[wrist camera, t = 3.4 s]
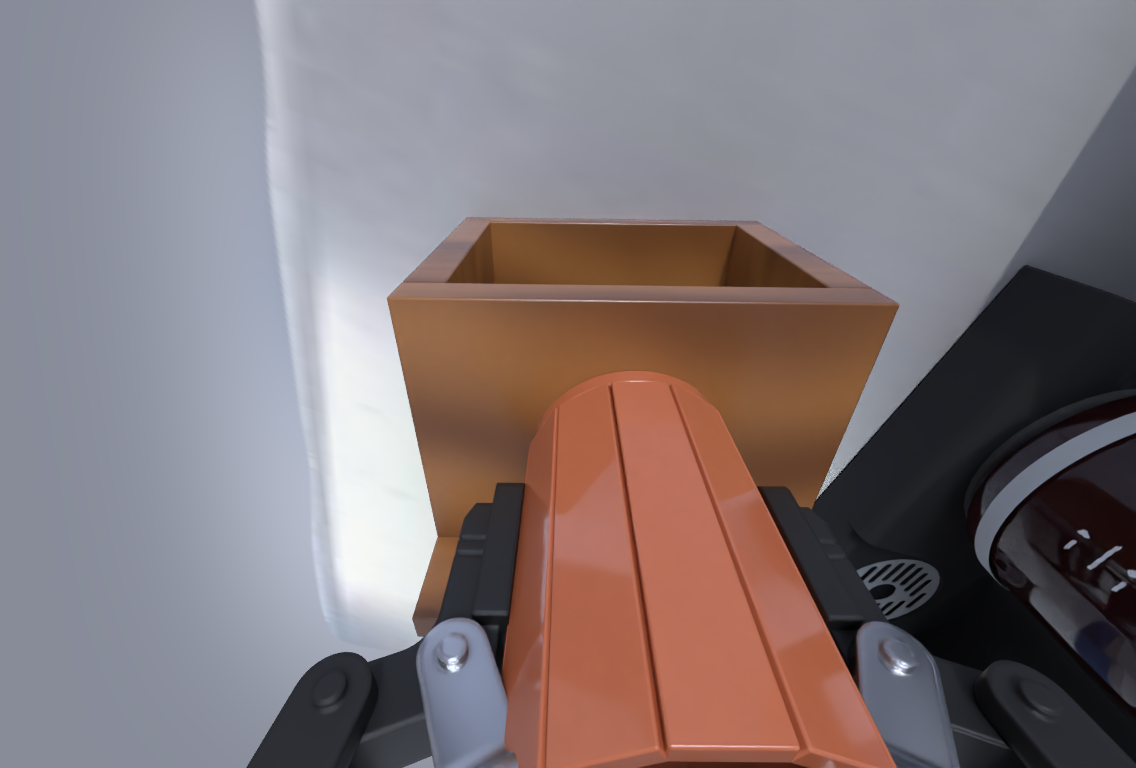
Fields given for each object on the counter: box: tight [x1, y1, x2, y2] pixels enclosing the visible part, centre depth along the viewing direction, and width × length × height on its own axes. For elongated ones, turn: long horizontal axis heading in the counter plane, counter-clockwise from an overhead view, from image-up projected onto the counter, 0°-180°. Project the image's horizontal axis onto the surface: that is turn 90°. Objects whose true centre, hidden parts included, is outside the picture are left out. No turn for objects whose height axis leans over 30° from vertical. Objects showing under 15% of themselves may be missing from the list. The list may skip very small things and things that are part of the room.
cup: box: [501, 370, 897, 768], centre depth 10 cm, size 6×6×8 cm
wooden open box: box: [387, 218, 899, 637], centre depth 17 cm, size 10×13×13 cm
